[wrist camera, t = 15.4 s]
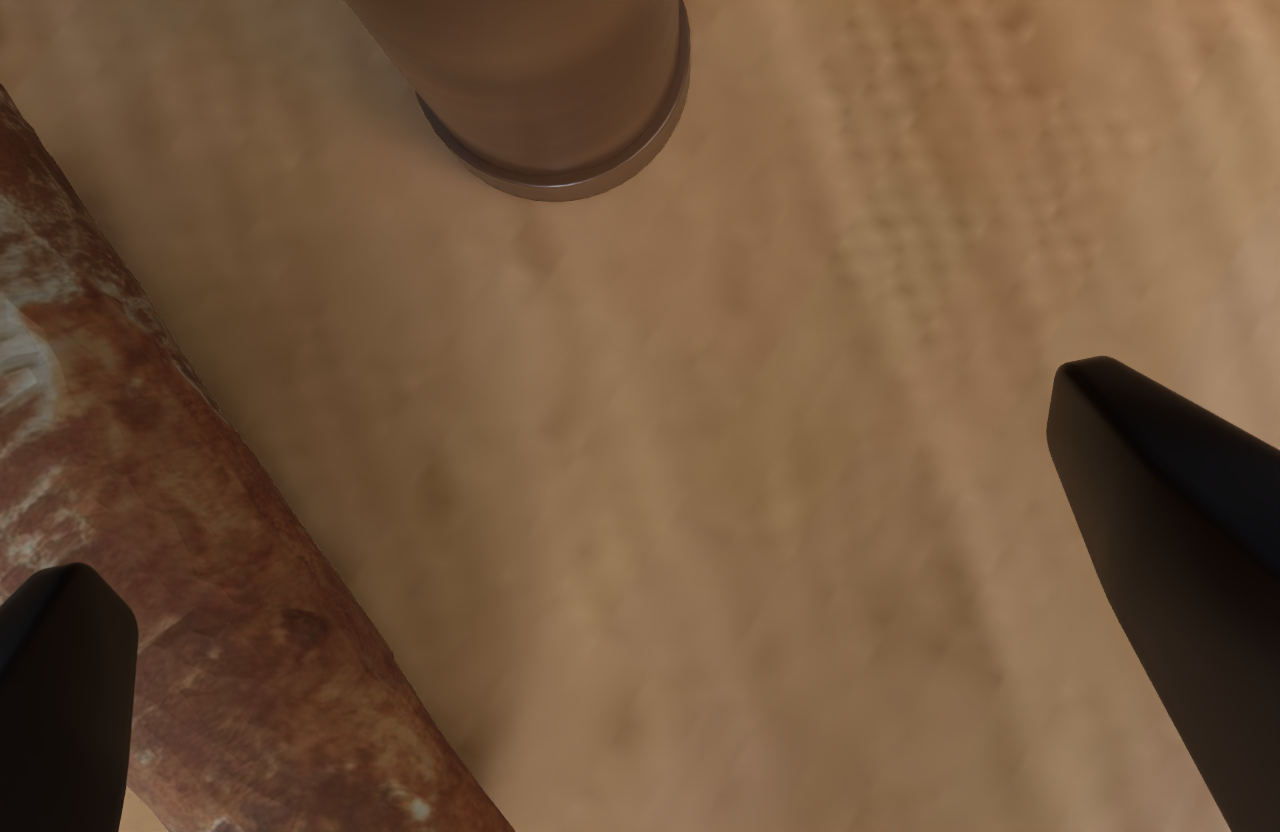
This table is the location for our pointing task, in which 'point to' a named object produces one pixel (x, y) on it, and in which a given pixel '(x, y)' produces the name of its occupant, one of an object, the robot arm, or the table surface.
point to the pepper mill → (542, 84)
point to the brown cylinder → (193, 555)
